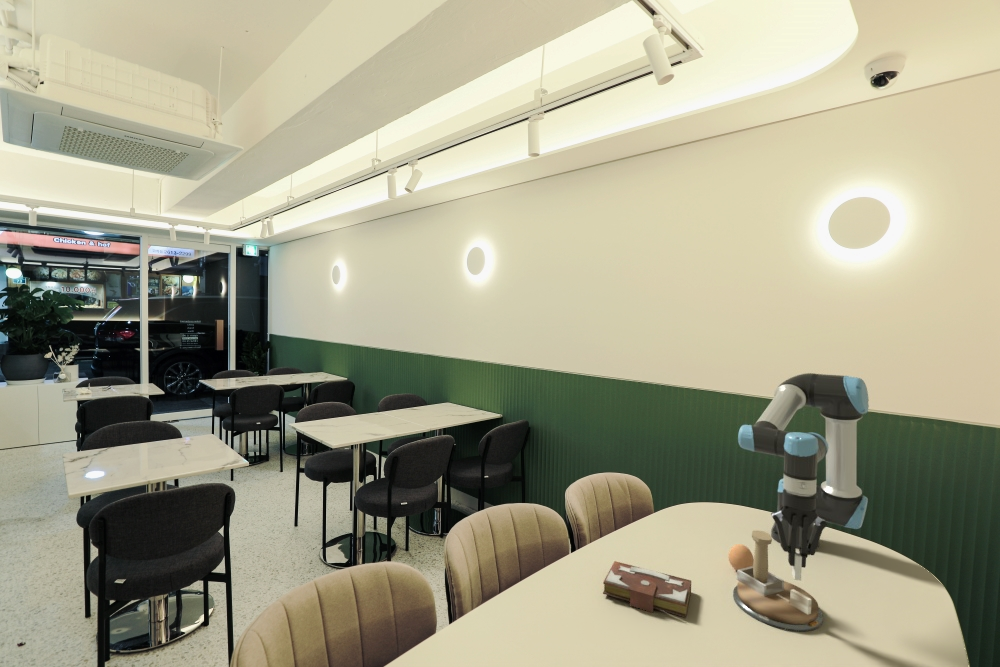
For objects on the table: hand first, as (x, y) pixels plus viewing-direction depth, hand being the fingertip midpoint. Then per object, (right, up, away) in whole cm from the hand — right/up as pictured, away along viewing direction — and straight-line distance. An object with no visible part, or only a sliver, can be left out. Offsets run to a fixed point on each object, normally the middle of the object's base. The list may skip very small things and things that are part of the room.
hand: (796, 577), depth 127 cm
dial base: (-1, -12, +8) cm, 14 cm away
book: (-37, -12, +12) cm, 40 cm away
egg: (-2, -12, +27) cm, 29 cm away
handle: (-3, -9, +12) cm, 15 cm away
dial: (-1, -11, +8) cm, 13 cm away
